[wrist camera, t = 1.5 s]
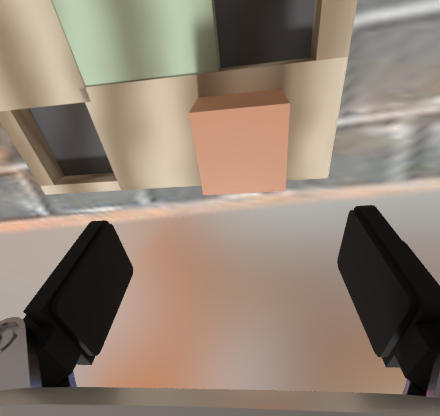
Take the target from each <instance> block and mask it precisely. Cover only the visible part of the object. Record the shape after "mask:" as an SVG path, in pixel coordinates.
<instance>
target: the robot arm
mask: <svg viewBox="0 0 440 416" xmlns="http://www.w3.org/2000/svg"><path fill="white" fill-rule="evenodd" d="M337 263H338V268H339V270H340V273H341V275H342V278H343V280H344V282H345V285H346V287H347V289H348V292H349V294H350V296H351V299H352V301H353V303H354V306H355V308H356V310H357V313H358V315H359V317H360V320H361V322H362V324H363V327H364V329H365V331H366V333H367V336H368V338H369V340H370V343H371V345H372V348H373V350H374V352H375V354H376V355H377V356H378V357H382V359H383V361H384V364H385V366H386V367H400V368H401V370H402V372H403V374H404V376H405V378H407V381H406V385H405V388H404V391H403V394H402V395H401V394H377V393H353V392H351V393H350V392H316V391H313V392H312V391H275V390H272V391H271V390H227V389H174V388H173V389H172V388H104V387H77V386H76V382H75V377H74V373H73V370H74V368H75V366H76V364H78V365H92V362H93V360H94V358H95V356H97V355H98V354H99V353H100V351H101V349H102V347H103V345H104V342H105V340H106V337H107V335H108V332H109V330H110V328H111V325H112V323H113V320H114V318H115V316H116V313H117V311H118V309H119V306H120V304H121V301H122V299H123V297H124V294H125V292H126V289H127V287H128V284H129V282H130V280H131V277H132V275H133V267H132V264H131V262H130V260H129V258H128V256H127V254H126V252H125V250H124V248H123V246H122V243H121V242H120V239H119V237H118V235H117V233H116V231H115V229H114V227H113V225H112V224H109V222H108V221H92V222H90V223H89V224H88V226H87V227H86V228H85V230H84V231H83V233H82V234H81V235H80V236H79V238H78V239H77V240H76V242H75V243H74V244H73V246H72V247H71V249H70V250H69V251H68V252H67V254H66V255H65V256H64V258H63V259H62V261H61V262H60V263H59V265H58V266H57V267H56V268H55V270H54V271H53V272H52V274H51V275H50V277H49V278H48V279H47V281H46V282H45V283H44V285H43V286H42V287H41V288H40V290H39V291H38V292H37V294H36V295H35V297H34V298H33V299H32V301H31V302H30V303H29V305H28V306H27V307H26V309H25V310H24V313H25V314H26V316H25V318H24V319H21V318H19V317H12V318H7V319H4V320H2V321H0V416H440V286H439V284H438V283H437V282H436V281H435V279H434V278H433V277H432V275H431V274H430V273H429V272H428V271H427V269H426V268H425V267H424V265H423V264H422V263H421V261H420V260H419V259H418V258H417V257H416V255H415V254H414V253H413V251H412V250H411V249H410V248H409V246H408V245H407V244H406V243H405V242H404V241H402V240H401V239H400V237H399V236H398V235H397V234H396V232H395V231H394V230H393V228H392V227H391V226H390V225H389V223H388V222H387V221H386V220H385V218H384V217H383V216H382V214H381V213H380V212H379V210H377V208H376V207H375V206H373V205H370V206H369V205H368V206H356V207H355V208H354V210H351V211H350V212H349V215H348V219H347V223H346V227H345V231H344V235H343V240H342V244H341V248H340V252H339V256H338V261H337Z"/></svg>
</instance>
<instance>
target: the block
mask: <svg viewBox="0 0 440 416" xmlns="http://www.w3.org/2000/svg"><path fill="white" fill-rule="evenodd" d="M289 115H290V102H289V101H288V99H287V97H286V96H285V94H284V92H283V91H282V89H275V90H265V91H256V92H246V93H236V94H227V95H217V96H208V97H198V98H197V100H196V102H195V103H194V105H193V107H192V108H191V110H190V112H189V117H190V123H191V129H192V134H193V140H194V145H195V151H196V156H197V162H198V168H199V173H200V179H201V184H202V190H203V195H218V194H237V193H255V192H274V191H285V190H286V171H287V152H288V134H289Z"/></svg>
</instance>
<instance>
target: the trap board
mask: <svg viewBox="0 0 440 416" xmlns="http://www.w3.org/2000/svg"><path fill="white" fill-rule="evenodd" d="M356 6H357V0H0V123H1V125H2V126H3V128H4V129H5V131H6V133H7V134H8V136H9V137H10V139H11V140H12V142H13V144H14V145H15V147H16V148H17V150H18V152H19V153H20V155H21V156H22V158H23V160H24V161H25V163H26V164H27V166H28V167H29V169H30V171H31V172H32V174H33V175H34V177H35V179H36V180H37V182H38V183H39V185H40V187H41V188H42V190H43V191H44V193H45V195H47V194H64V193H81V192H98V191H115V190H132V189H149V188H165V187H182V186H199V185H202V184H201V179H200V173H199V168H198V162H197V156H196V151H195V145H194V140H193V134H192V129H191V123H190V117H189V112H190V110H191V108H192V107H193V105H194V103H195V102H196V100H197V98H198V97H208V96H217V95H227V94H236V93H246V92H256V91H265V90H275V89H282V91H283V92H284V94H285V96H286V97H287V99H288V101H289V102H290V115H289V134H288V152H287V171H286V180H301V179H318V178H328V174H329V168H330V162H331V156H332V150H333V144H334V138H335V132H336V126H337V120H338V114H339V108H340V102H341V96H342V90H343V84H344V78H345V72H346V66H347V60H348V54H349V48H350V42H351V36H352V30H353V24H354V18H355V12H356Z"/></svg>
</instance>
